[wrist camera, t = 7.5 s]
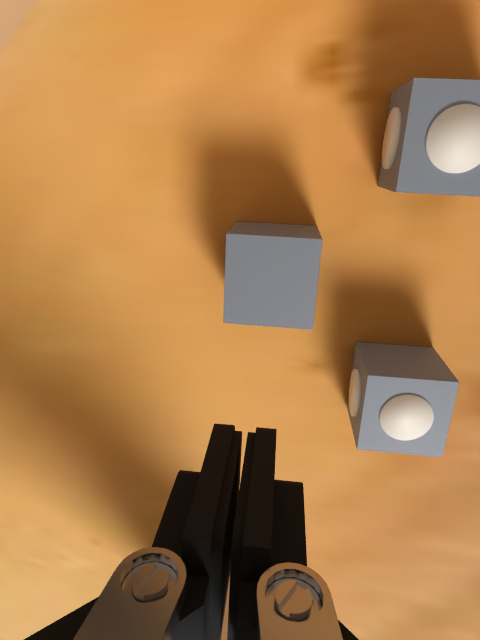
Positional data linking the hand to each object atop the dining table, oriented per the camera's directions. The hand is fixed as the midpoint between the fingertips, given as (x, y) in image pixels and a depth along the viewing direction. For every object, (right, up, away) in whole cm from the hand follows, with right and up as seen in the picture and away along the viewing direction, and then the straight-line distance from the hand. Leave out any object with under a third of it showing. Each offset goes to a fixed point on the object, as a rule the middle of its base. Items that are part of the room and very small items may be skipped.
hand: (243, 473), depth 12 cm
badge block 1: (+13, +16, +19) cm, 28 cm away
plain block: (+3, +9, +23) cm, 24 cm away
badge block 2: (+12, -1, +25) cm, 28 cm away
